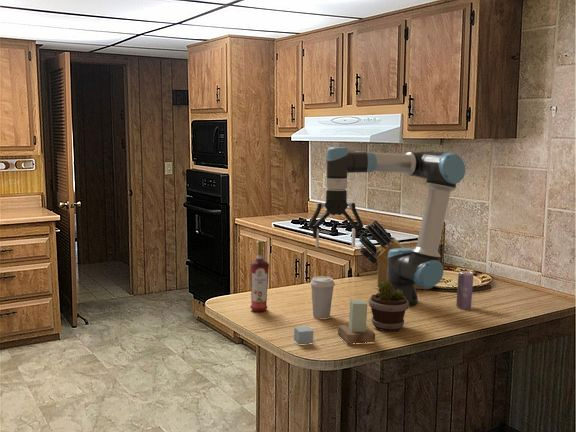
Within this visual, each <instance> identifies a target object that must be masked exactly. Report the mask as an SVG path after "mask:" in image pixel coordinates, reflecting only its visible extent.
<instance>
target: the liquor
mask: <svg viewBox="0 0 576 432" xmlns="http://www.w3.org/2000/svg"><path fill="white" fill-rule="evenodd" d="M264 242H265V241H264V240H259V239H258V240H256V258H255V260H253V261H252V262H251V263H250V266H249V267H250V286H251V287H250V289H251V290H250V291H251V292H250V293H251V294H250V295H251V296H250V297H251V301H250V302H251V305H250V309H251V310H252V311H253V310H254V311H253V312H255V311H263V312H264V311H266V310H267V309H268V305H267V300H268V299H267V298H268V284H269V273H270V272H269V270H270V269H269V268H270V264H269V262H267V261H266V260H264Z"/></svg>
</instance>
